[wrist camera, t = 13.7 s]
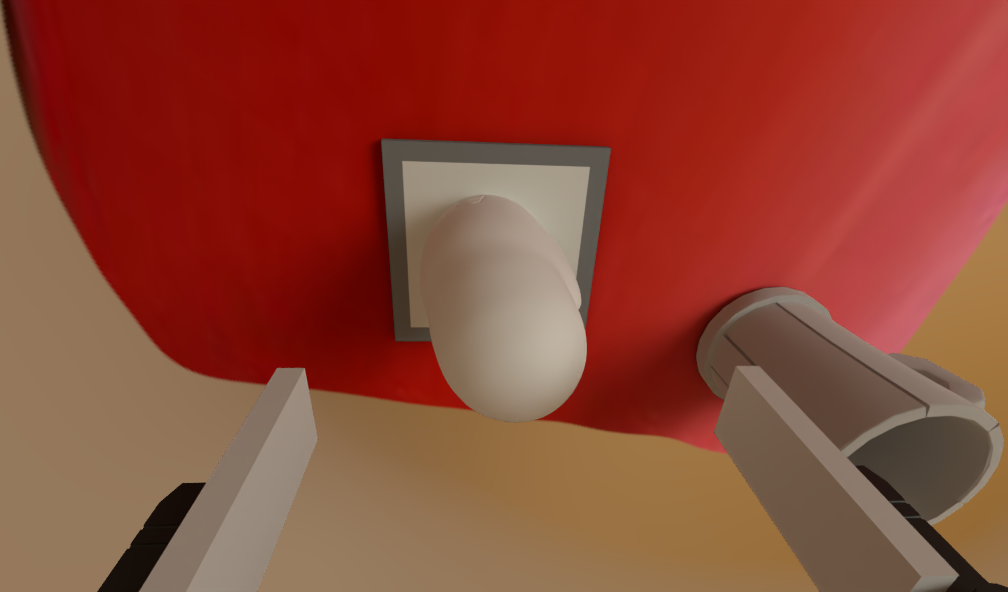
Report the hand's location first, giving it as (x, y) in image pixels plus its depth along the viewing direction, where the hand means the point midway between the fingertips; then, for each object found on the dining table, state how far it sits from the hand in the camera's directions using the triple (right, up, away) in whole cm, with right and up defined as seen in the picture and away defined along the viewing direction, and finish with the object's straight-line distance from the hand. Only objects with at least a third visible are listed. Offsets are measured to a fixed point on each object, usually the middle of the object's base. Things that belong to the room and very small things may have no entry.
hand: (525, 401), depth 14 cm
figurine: (-1, +6, +12) cm, 14 cm away
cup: (+17, +1, +17) cm, 25 cm away
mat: (-1, +6, +13) cm, 14 cm away
